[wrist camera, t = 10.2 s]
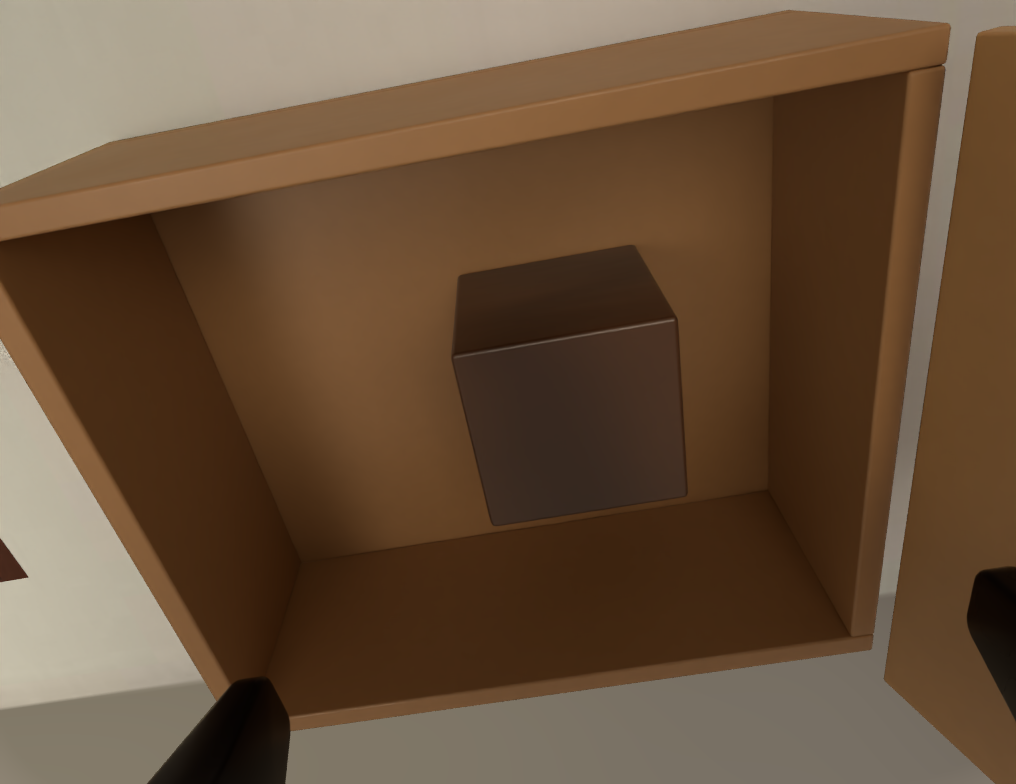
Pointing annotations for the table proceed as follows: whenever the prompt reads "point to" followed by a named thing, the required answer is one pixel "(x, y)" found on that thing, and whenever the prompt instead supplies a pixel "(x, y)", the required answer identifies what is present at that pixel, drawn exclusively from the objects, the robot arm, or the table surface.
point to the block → (570, 385)
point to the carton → (430, 375)
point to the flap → (966, 437)
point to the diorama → (9, 565)
